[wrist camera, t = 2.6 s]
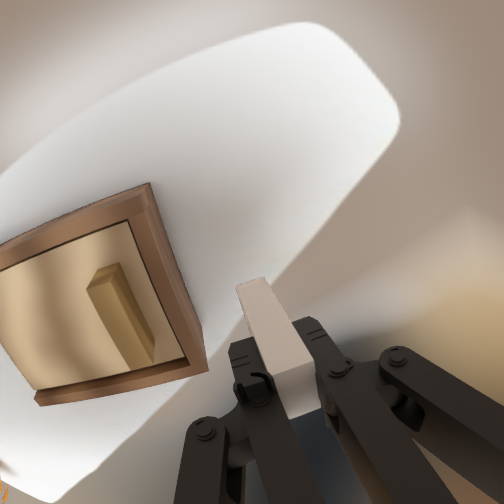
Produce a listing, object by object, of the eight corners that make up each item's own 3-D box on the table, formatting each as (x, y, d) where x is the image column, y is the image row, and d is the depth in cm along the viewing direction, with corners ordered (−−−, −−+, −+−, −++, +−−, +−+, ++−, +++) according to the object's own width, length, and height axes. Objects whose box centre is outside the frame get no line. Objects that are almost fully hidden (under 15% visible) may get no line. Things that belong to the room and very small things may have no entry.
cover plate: (129, 218, 17) (118, 235, 14) (184, 349, 21) (187, 382, 18) (-26, 282, 16) (-49, 304, 12) (36, 384, 20) (25, 412, 16)
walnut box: (149, 182, 21) (138, 195, 16) (201, 327, 26) (208, 371, 21) (-9, 249, 19) (-43, 275, 14) (55, 366, 24) (40, 406, 19)
